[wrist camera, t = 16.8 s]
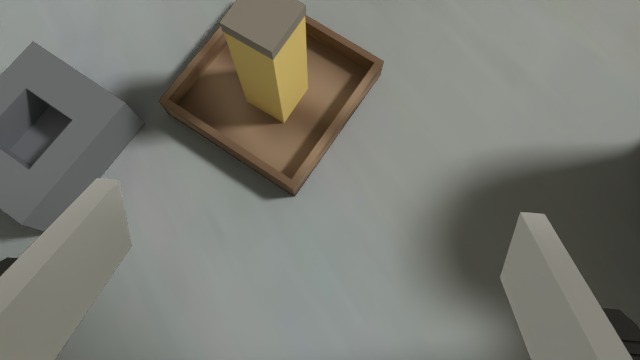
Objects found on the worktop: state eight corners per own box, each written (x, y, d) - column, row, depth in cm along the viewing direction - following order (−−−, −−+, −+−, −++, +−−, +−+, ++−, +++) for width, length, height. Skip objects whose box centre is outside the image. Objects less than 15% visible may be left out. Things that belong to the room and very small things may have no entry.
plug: (270, 66, 44) (254, -23, 32) (308, 88, 43) (305, 5, 31) (245, 101, 43) (219, 22, 31) (284, 123, 42) (271, 52, 30)
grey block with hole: (60, 67, 44) (32, 41, 40) (144, 123, 43) (125, 102, 38) (-33, 170, 41) (-74, 153, 37) (53, 233, 40) (21, 224, 36)
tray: (258, 1, 46) (254, -16, 44) (380, 74, 44) (383, 61, 42) (167, 112, 43) (158, 100, 41) (294, 196, 41) (293, 189, 39)
